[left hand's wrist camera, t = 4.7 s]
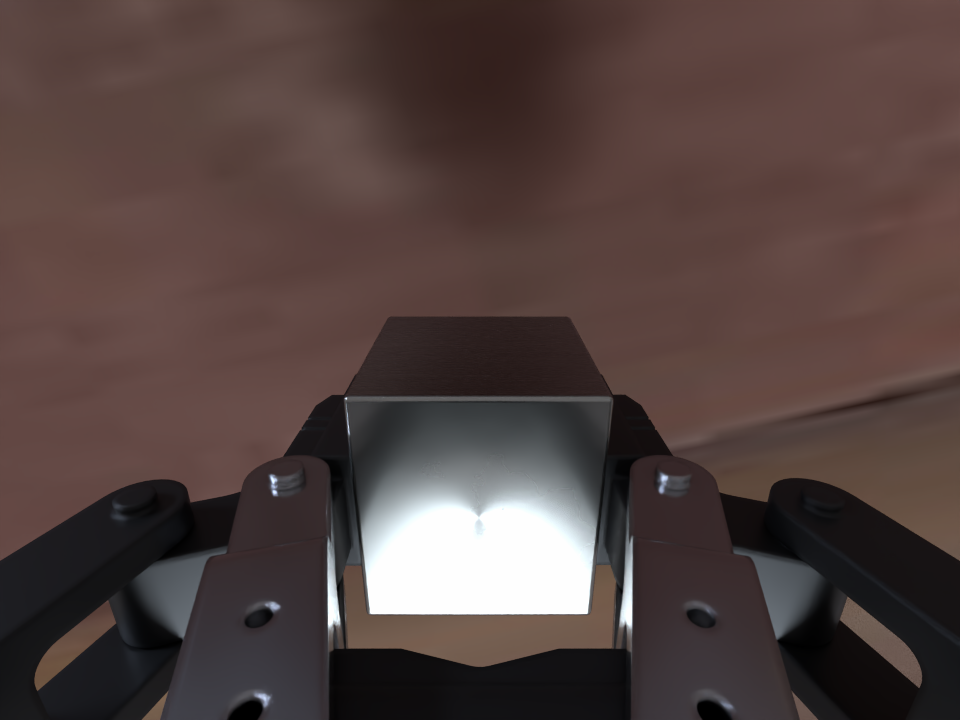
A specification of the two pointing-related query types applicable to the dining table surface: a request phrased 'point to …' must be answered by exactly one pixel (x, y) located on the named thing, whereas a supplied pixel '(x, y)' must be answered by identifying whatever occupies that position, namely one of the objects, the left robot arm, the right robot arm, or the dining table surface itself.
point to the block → (478, 466)
